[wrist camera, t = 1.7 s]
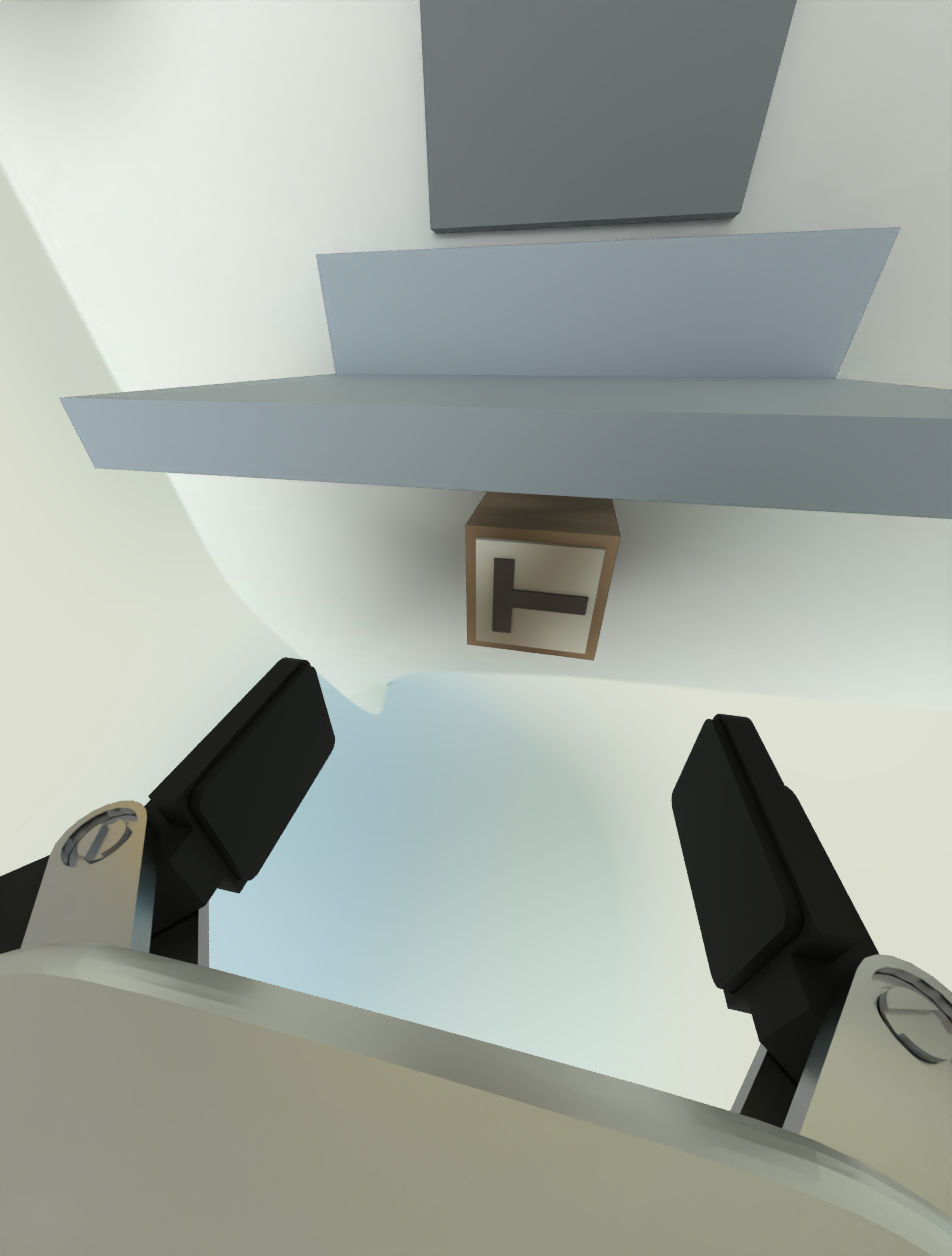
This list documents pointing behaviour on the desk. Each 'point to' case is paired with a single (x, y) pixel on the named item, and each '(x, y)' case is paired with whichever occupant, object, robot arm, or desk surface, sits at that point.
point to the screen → (575, 381)
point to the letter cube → (539, 572)
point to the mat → (594, 108)
